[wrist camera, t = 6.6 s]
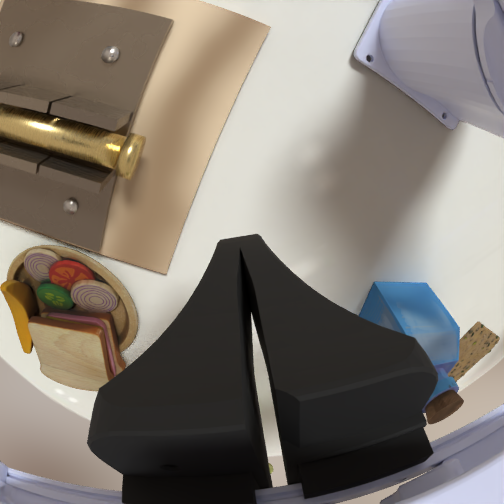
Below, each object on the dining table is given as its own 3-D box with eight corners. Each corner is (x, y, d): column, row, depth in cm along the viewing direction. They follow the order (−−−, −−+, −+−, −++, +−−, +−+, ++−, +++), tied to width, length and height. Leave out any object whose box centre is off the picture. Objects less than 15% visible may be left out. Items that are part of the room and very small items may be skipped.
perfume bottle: (400, 329, 30) (450, 423, 19) (350, 332, 28) (395, 441, 18) (426, 282, 26) (493, 379, 16) (374, 281, 25) (440, 397, 15)
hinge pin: (149, 132, 16) (139, 142, 14) (136, 171, 17) (126, 187, 15) (-23, 90, 12) (-45, 97, 10) (-28, 125, 13) (-50, 135, 11)
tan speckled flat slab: (413, 377, 37) (416, 382, 36) (476, 317, 32) (480, 322, 31) (447, 385, 41) (449, 389, 41) (499, 336, 36) (502, 340, 36)
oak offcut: (269, 28, 14) (270, 27, 14) (166, 270, 22) (166, 274, 22) (14, -22, 9) (10, -23, 8) (-31, 203, 17) (-34, 205, 16)
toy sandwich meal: (145, 253, 22) (132, 297, 18) (137, 365, 28) (132, 405, 24) (2, 225, 19) (-28, 259, 15) (27, 339, 25) (12, 374, 21)
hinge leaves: (174, 21, 13) (164, 9, 10) (101, 246, 20) (86, 277, 17) (11, -2, 9) (-20, -7, 6) (-27, 201, 16) (-52, 223, 13)
